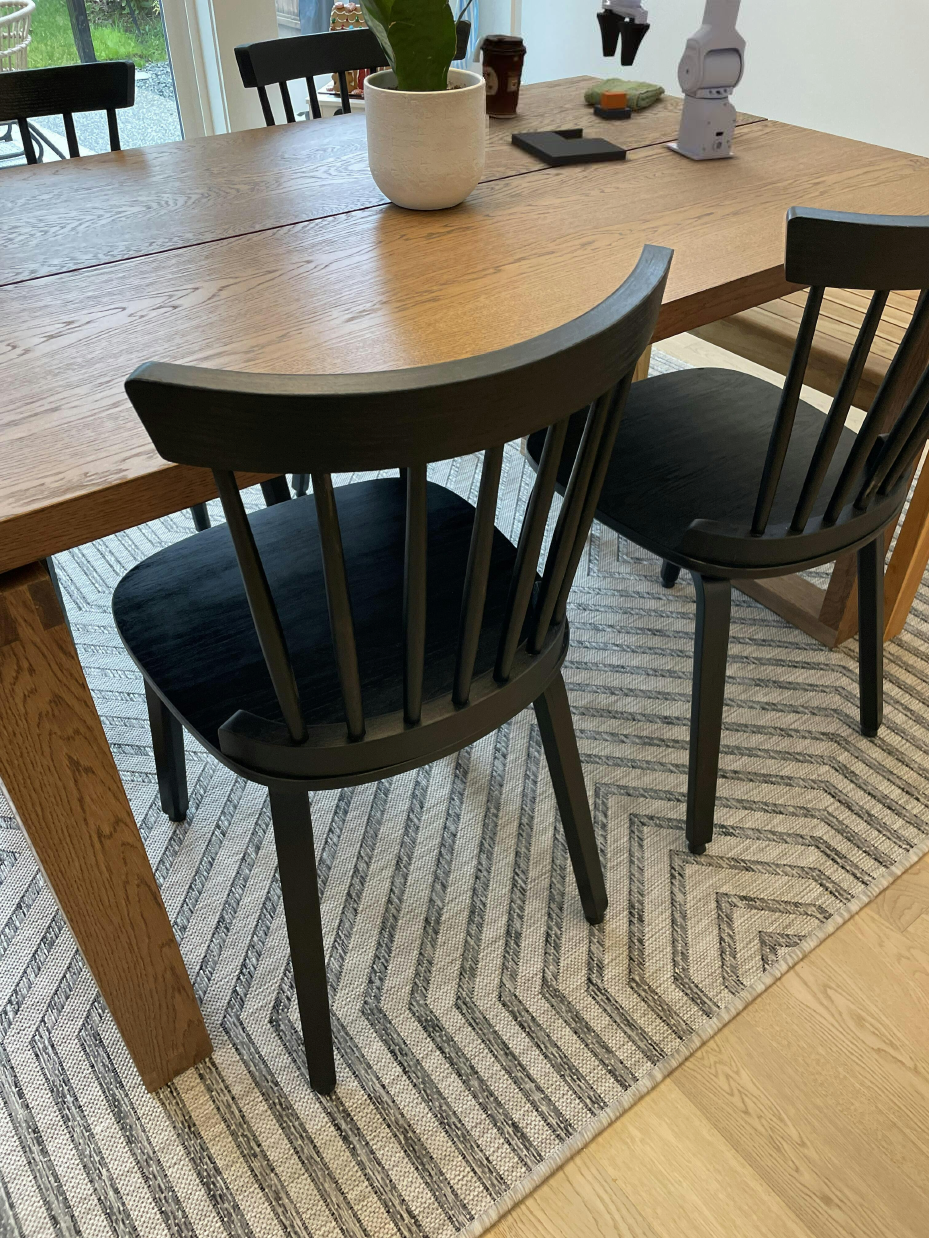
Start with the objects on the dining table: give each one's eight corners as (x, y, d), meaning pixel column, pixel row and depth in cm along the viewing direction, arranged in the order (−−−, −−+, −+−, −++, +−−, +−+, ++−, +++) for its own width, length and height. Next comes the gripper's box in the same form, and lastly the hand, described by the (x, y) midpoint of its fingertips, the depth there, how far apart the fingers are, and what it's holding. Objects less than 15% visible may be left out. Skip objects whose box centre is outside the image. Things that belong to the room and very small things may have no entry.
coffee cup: (484, 121, 175) (487, 41, 166) (472, 111, 181) (474, 33, 172) (528, 119, 177) (532, 40, 168) (514, 109, 183) (518, 32, 174)
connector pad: (630, 118, 179) (633, 95, 177) (606, 120, 178) (609, 96, 175) (616, 112, 183) (619, 89, 181) (593, 114, 181) (595, 91, 179)
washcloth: (666, 97, 195) (669, 80, 193) (638, 113, 183) (641, 95, 181) (608, 90, 199) (610, 73, 197) (577, 105, 187) (579, 87, 185)
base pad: (625, 160, 156) (627, 150, 155) (552, 166, 152) (553, 157, 151) (580, 137, 167) (581, 128, 166) (511, 143, 163) (511, 133, 162)
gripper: (591, -32, 169) (582, 53, 179) (627, -19, 159) (615, 70, 169) (625, -32, 171) (614, 52, 180) (663, -19, 161) (649, 69, 170)
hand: (617, 61), depth 175 cm, fingers open, 7 cm apart
